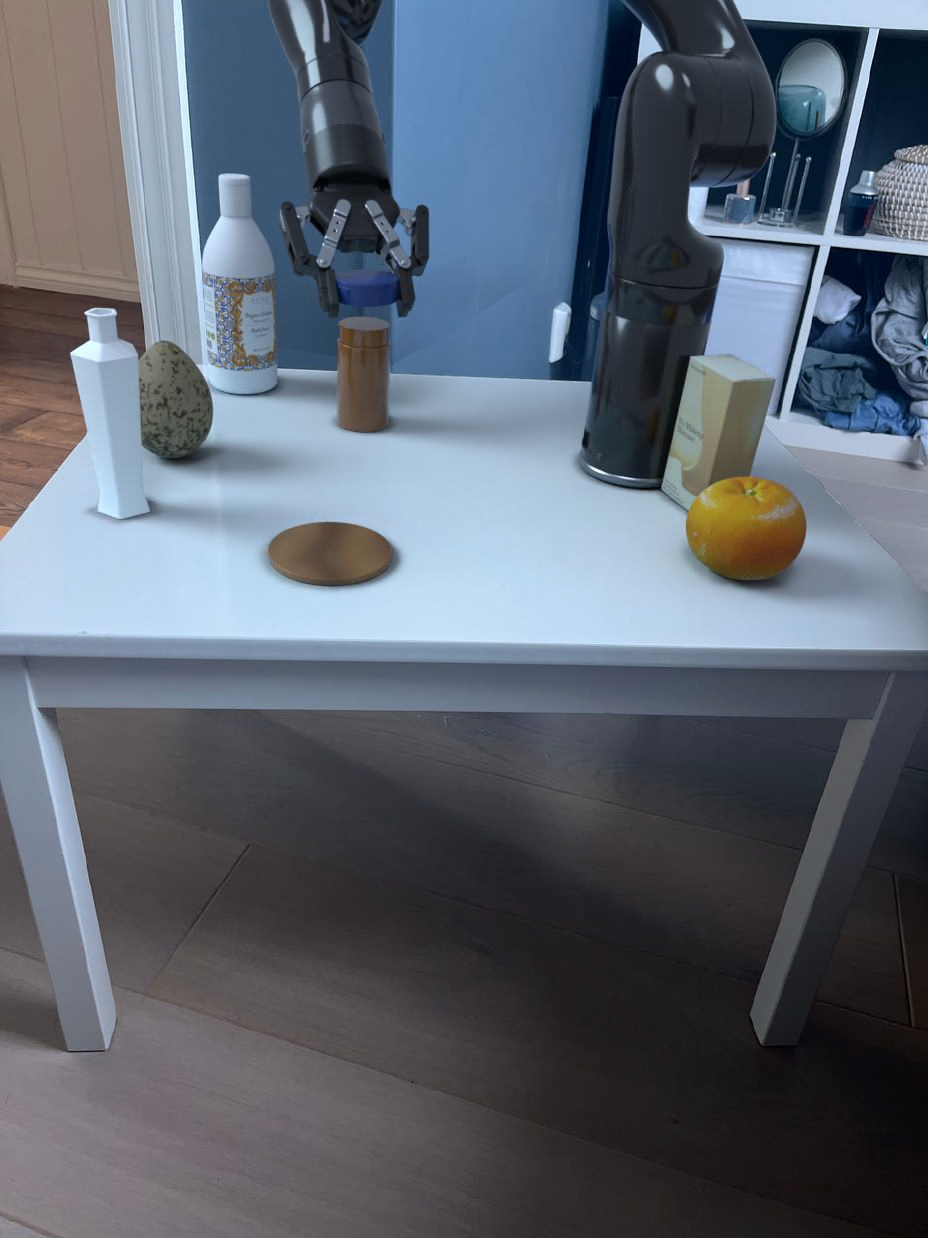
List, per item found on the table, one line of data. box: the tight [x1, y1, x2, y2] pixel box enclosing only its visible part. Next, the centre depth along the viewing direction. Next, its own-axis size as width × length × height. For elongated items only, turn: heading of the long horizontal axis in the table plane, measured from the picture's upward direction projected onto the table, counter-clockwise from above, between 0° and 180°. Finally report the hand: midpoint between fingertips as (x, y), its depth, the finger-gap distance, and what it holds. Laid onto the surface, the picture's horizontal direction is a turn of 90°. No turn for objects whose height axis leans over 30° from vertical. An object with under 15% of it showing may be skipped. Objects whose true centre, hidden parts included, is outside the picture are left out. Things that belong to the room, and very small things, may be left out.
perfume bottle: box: [69, 307, 151, 520], centre depth 71 cm, size 5×4×15 cm
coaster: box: [267, 521, 393, 586], centre depth 71 cm, size 9×9×1 cm
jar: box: [336, 316, 392, 433], centre depth 92 cm, size 5×5×10 cm
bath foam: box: [201, 173, 278, 395], centre depth 96 cm, size 7×7×20 cm
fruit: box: [685, 476, 808, 581], centre depth 73 cm, size 8×8×8 cm
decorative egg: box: [138, 340, 214, 459], centre depth 82 cm, size 7×7×10 cm
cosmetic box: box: [661, 353, 777, 512], centre depth 81 cm, size 6×4×12 cm
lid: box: [335, 269, 399, 308], centre depth 88 cm, size 6×6×2 cm
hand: (369, 312), depth 87 cm, fingers closed on lid, 6 cm apart
